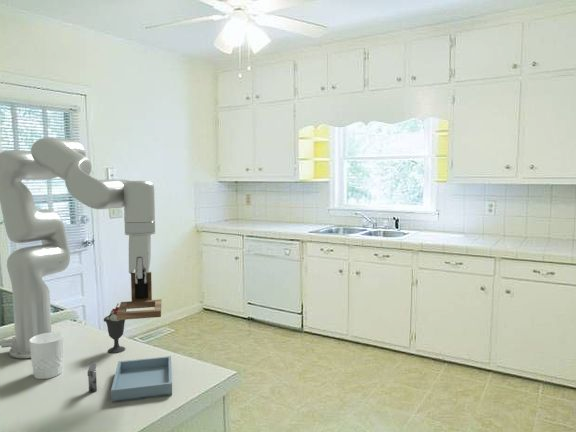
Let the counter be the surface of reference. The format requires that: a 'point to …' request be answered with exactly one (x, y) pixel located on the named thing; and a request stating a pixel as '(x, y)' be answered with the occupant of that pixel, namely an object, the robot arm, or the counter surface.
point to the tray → (142, 379)
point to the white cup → (47, 355)
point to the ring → (139, 303)
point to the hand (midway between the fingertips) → (141, 296)
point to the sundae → (115, 330)
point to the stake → (92, 377)
